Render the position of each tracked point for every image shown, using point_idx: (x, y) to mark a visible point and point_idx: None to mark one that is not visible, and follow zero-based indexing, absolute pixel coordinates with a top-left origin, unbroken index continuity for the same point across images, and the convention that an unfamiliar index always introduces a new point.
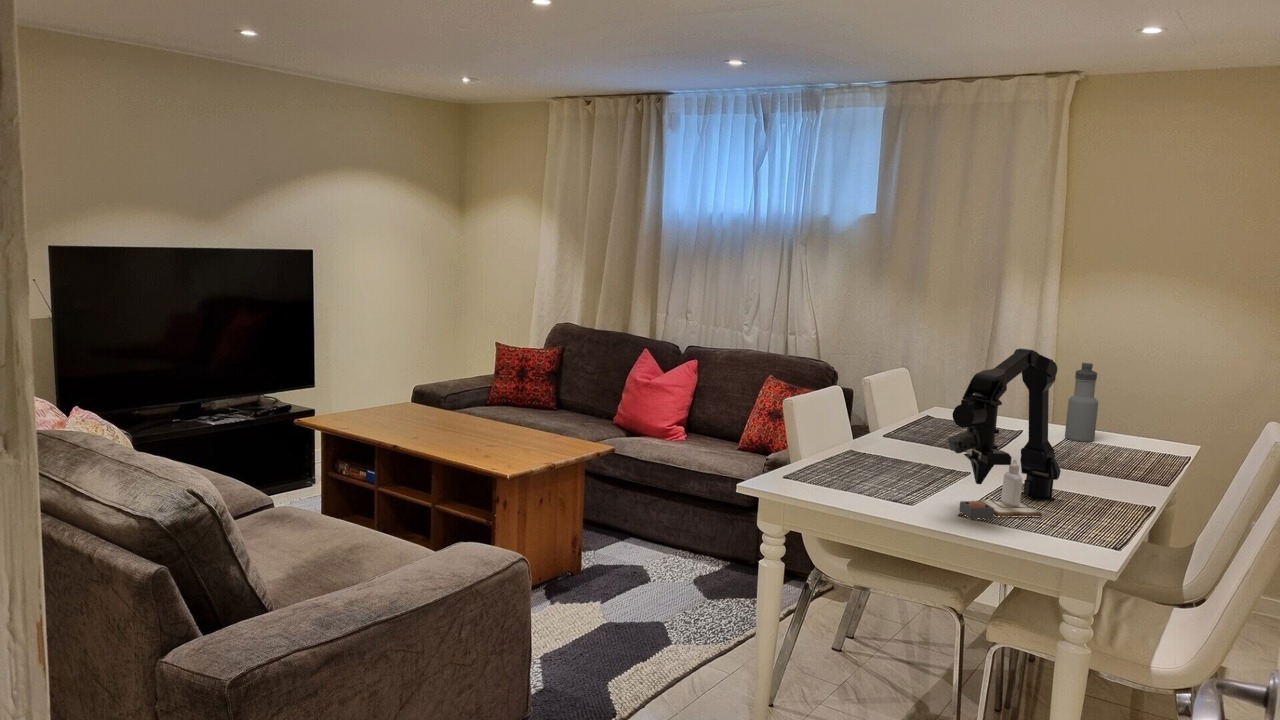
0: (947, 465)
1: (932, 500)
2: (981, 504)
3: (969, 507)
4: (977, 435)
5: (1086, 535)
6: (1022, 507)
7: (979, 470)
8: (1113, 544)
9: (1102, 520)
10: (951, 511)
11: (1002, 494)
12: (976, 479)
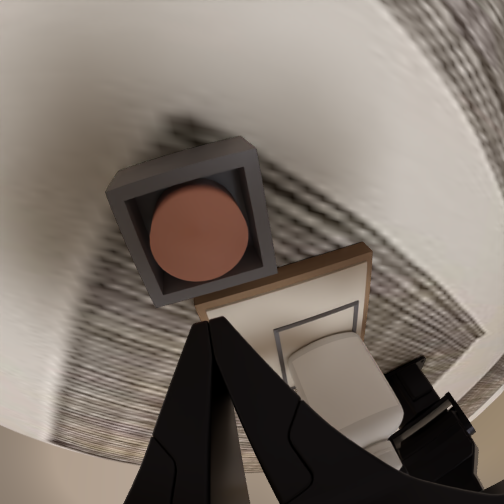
0: None
1: (415, 78)
2: (181, 261)
3: (130, 182)
4: None
5: (116, 434)
6: (282, 376)
7: (149, 471)
8: (82, 446)
9: (245, 452)
10: (257, 100)
11: (354, 352)
12: (204, 348)
